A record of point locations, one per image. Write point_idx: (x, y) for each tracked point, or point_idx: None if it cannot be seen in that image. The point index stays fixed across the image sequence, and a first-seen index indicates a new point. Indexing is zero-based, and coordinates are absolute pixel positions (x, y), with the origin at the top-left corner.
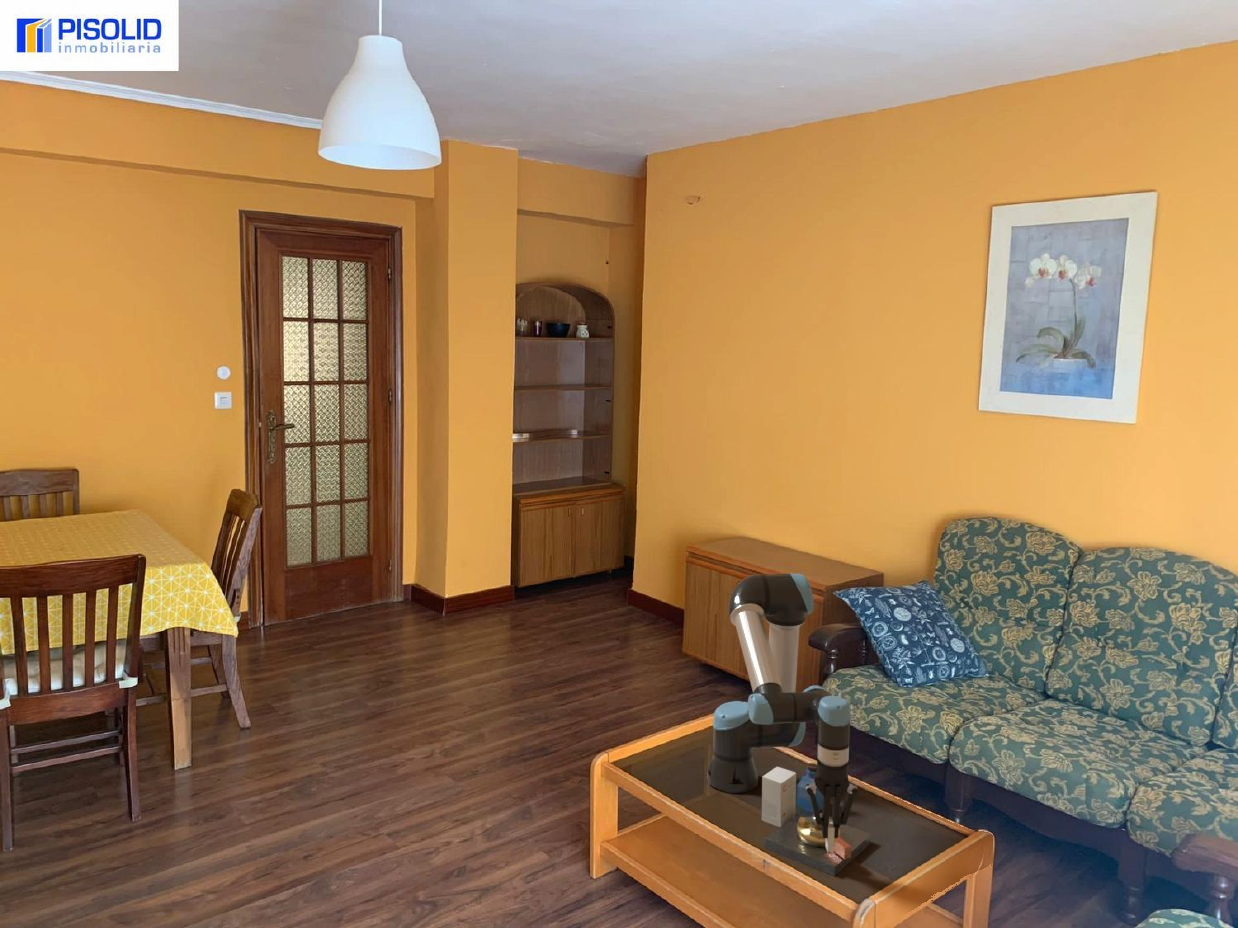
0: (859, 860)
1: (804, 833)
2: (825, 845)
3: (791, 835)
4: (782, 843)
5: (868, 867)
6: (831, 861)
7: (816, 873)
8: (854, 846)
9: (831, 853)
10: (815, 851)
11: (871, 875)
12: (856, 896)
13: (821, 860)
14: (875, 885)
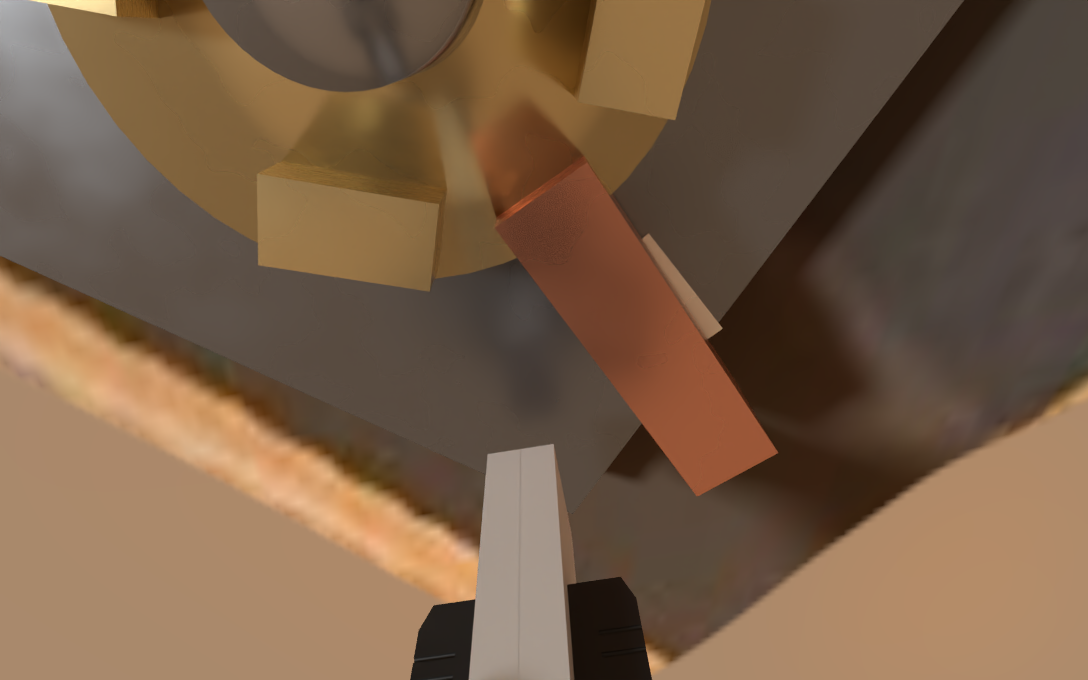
0: (814, 208)
1: (204, 197)
2: (487, 458)
3: None
4: (25, 228)
5: (864, 303)
6: None
7: None
8: (823, 143)
9: (556, 325)
10: (397, 319)
11: (855, 405)
12: (691, 624)
13: (461, 447)
14: (847, 510)
